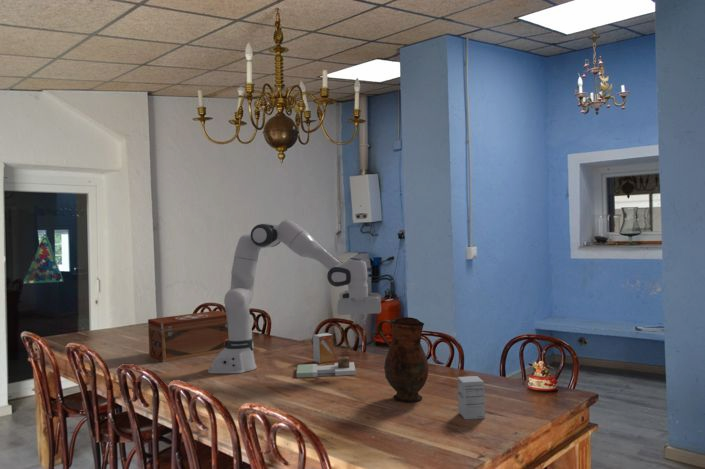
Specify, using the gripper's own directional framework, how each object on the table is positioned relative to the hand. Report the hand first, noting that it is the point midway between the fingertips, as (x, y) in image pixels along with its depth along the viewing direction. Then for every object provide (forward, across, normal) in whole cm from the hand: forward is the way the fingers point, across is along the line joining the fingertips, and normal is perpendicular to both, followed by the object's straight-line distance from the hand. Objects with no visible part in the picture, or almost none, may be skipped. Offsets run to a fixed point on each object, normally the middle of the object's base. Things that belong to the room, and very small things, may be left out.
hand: (359, 323), depth 274 cm
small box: (+21, +17, -22) cm, 35 cm away
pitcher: (+21, -13, +46) cm, 52 cm away
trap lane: (+21, +16, 0) cm, 26 cm away
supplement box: (+21, -33, +71) cm, 81 cm away
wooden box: (+22, +88, -56) cm, 106 cm away
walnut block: (+19, +8, 0) cm, 21 cm away
